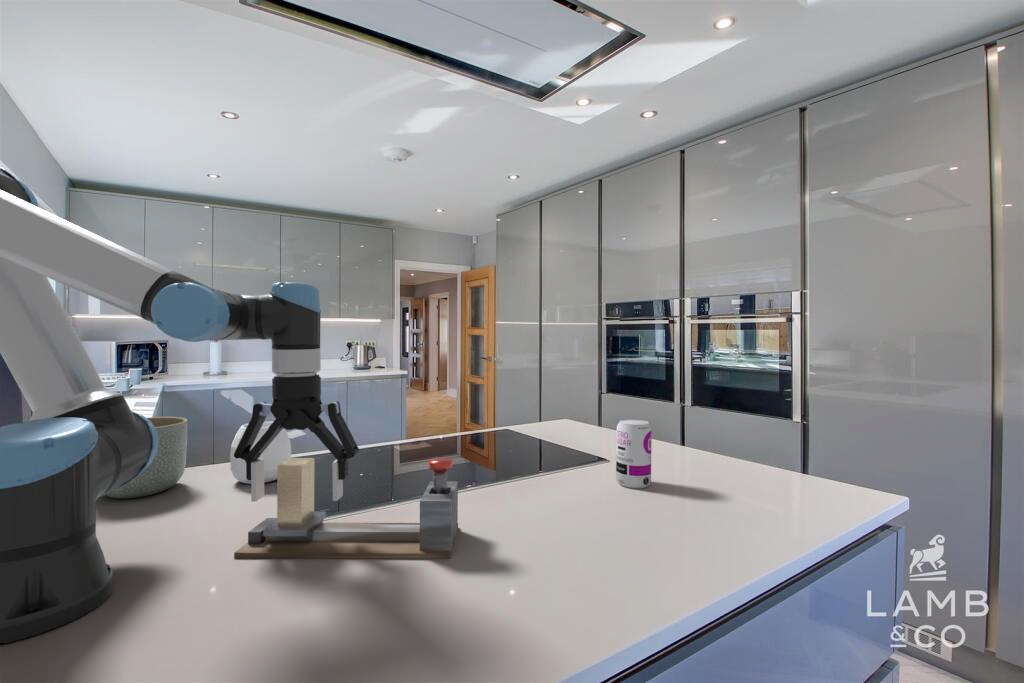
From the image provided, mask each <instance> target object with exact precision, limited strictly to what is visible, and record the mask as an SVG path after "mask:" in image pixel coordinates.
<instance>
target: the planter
mask: <svg viewBox="0 0 1024 683" xmlns="http://www.w3.org/2000/svg"><path fill="white" fill-rule="evenodd" d="M146 418H147V419H148V420H149V421H150V422H151V423H152V424H153V425H154V427H155V429H156V431H157V434H158V449H157V453H156V455H155V457H154V459H153V461H152V462H151V464H150V465H149V466H148V467H147V468H146V469H145V470H144V471H143V472H142V473H141V474H139V475H138V476H137V477H136V478H135V479H134V480H132V481H131V482H129V483H128V484H125V485H123V486H121V487H119V488H116V489H114V490H112V491H111V492H109V493H107V494H105V495H104V496H107V497H110V498H113V499H122V500H123V499H135V498H142V497H147V496H152V495H156V494H159V493H162V492H165V491H167V490H169V489H170V488H172V487H173V486H175V485H176V484H177V483H178V482H179V481H180V480H181V479H182V477H183V475H184V474H185V469H186V465H187V464H186V463H187V448H188V446H187V444H188V424H189V423H188V419H187V418H184V417H179V416H178V417H177V416H152V417H151V416H150V417H146Z"/></svg>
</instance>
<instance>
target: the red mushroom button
mask: <svg viewBox="0 0 1024 683" xmlns="http://www.w3.org/2000/svg"><path fill="white" fill-rule="evenodd" d="M427 462H428V464H427V465H428V470H431V471H432V481H433V494H447V482H448V471H449V470H451V469H452V468H453V459H452V458H450V457H446V456H443V457H441V456H440V457H439V456H438V457H432V458H430V459H428V461H427Z"/></svg>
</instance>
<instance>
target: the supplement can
mask: <svg viewBox="0 0 1024 683" xmlns="http://www.w3.org/2000/svg"><path fill="white" fill-rule="evenodd" d="M652 430H653V429H652V427H651V426H650V423H649V421H647V420H642V419H631V418H630V419H629V418H628V419H620V420H618V423H617V425H616V437H615V438H616V439H615V440H616V441H615V442H616V445H615V447H616V450H615V451H616V452H615V454H616V455H615V456H616V458H615V459H616V460H615V463H616V465H615V466H616V467H615V481H616V482H617V483H618V485H620V486H622V487H624V488H628V489H645V488H648V487H649V485H651V483H652V434H653V433H652Z"/></svg>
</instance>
